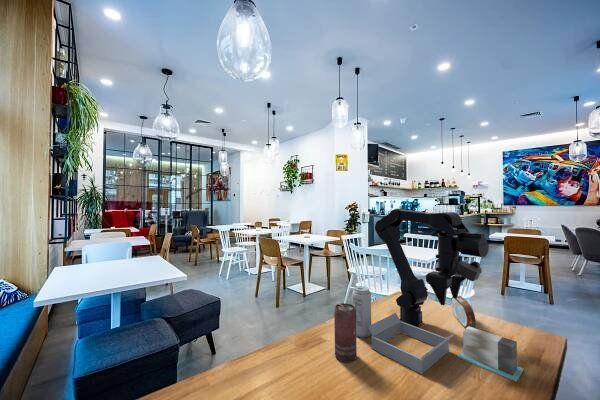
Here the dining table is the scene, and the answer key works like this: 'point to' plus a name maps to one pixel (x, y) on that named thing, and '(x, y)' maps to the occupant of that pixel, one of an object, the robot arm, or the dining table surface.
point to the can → (345, 332)
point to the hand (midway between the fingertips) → (449, 301)
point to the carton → (394, 327)
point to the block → (490, 349)
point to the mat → (512, 377)
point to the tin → (463, 312)
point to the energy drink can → (362, 310)
